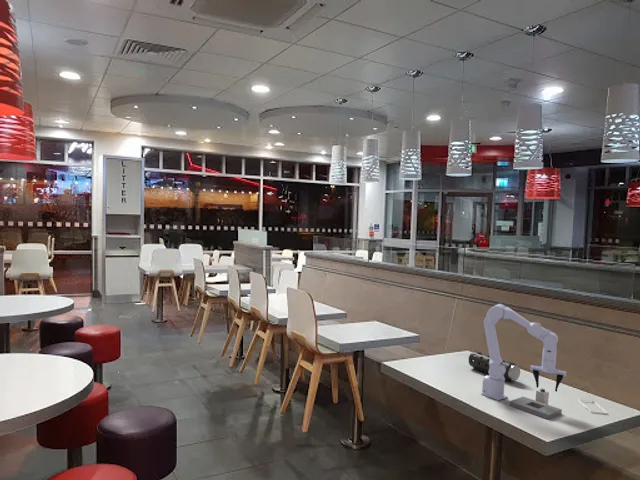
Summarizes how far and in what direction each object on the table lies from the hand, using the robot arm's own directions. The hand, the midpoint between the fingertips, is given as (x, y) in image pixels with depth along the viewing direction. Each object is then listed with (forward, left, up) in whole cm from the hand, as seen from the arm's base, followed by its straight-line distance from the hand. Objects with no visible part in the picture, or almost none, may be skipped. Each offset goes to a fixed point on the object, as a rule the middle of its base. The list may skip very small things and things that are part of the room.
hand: (546, 388), depth 217 cm
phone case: (+12, +22, -10) cm, 26 cm away
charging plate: (-1, -6, -9) cm, 11 cm away
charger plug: (-3, +4, -9) cm, 10 cm away
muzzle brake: (-40, +23, -9) cm, 47 cm away
